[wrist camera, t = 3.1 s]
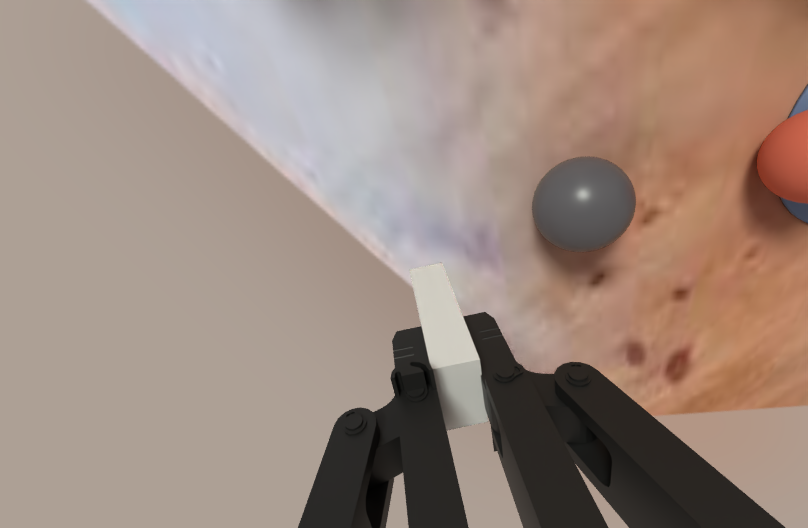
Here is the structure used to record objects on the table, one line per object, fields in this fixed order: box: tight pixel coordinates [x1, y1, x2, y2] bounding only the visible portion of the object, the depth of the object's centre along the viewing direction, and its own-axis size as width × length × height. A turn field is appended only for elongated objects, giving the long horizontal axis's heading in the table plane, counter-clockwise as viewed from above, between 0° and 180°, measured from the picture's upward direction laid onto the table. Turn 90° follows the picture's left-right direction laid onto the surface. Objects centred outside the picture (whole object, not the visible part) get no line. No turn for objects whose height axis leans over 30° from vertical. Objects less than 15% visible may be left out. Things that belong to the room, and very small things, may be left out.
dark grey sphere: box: [532, 157, 636, 252], centre depth 23 cm, size 6×6×6 cm
